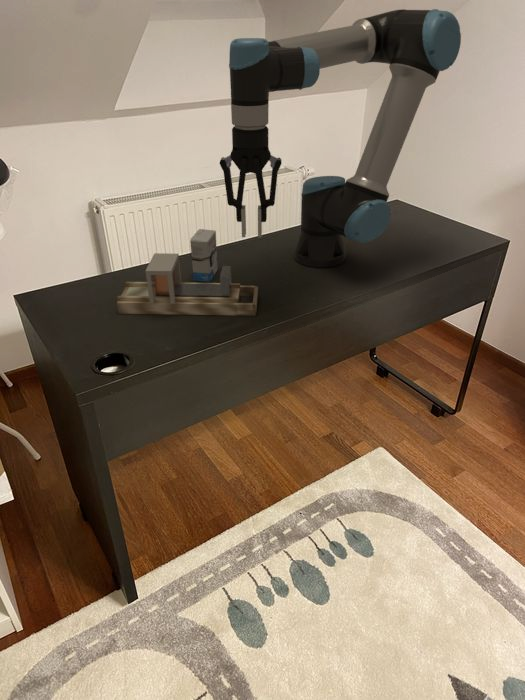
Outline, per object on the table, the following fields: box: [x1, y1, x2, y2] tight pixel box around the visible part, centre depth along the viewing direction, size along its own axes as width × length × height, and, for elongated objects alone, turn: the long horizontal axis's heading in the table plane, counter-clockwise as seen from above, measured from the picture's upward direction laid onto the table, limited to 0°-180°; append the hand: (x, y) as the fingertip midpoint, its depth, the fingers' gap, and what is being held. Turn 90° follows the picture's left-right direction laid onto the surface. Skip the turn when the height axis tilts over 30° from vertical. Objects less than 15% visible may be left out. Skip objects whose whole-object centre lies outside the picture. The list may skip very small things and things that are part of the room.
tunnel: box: [144, 252, 182, 304], centre depth 127 cm, size 6×10×8 cm, turn 178°
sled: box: [152, 265, 232, 298], centre depth 128 cm, size 18×6×6 cm, turn 88°
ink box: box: [190, 228, 218, 283], centre depth 142 cm, size 8×5×12 cm, turn 168°
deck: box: [116, 281, 259, 317], centre depth 130 cm, size 34×10×4 cm, turn 88°
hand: (251, 234), depth 120 cm, fingers open, 3 cm apart
